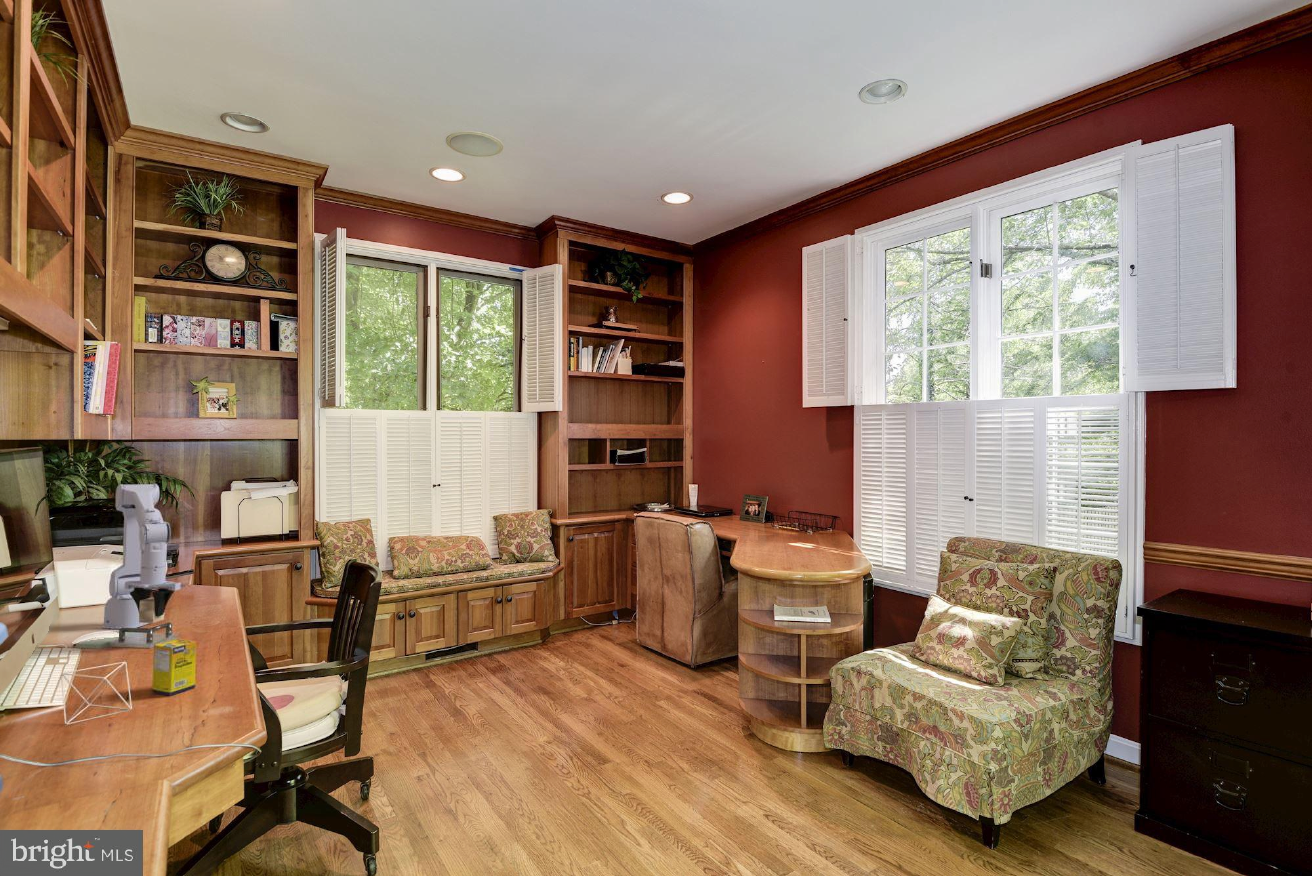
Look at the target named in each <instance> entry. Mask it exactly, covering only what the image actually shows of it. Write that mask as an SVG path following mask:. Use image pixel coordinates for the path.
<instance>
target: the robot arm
mask: <svg viewBox="0 0 1312 876" xmlns="http://www.w3.org/2000/svg"><path fill="white" fill-rule="evenodd" d="M159 499H160V487H159V485H158V484H157V483H152V484H151V483H150V484H149V483H147V484H146V483H143V484H141V483H140V484H122V483H121V484H120V483H119V485H118V486H117V487H116V490H115V509H116V511H119V512H122V514H123V517H124V520H123V544H122V545H123V547H122V549H123V550H122V565H120V566H119V567H117V568H115V569H114V570H113V571H112V572H111V573H110V578H109V579H110V580H109V583H108V584H109V585H108V587H109V588H108V590H109V595H110V598H109V599H107V601H106V603H105V604H104V611H103V613H104V614H103V615H104V616H103V626H101V629H109V628H110V629H111V630H113V629H115V630H116V629H117V630H120V629H121V628H122V627H125V628H141V627H143V626H145V625H149V624H150V623H140V622H139V608H140V601H141V600H144V599H148V598H151V595H152V596H153V597H152V598H154V601H155V616H157V617H158V616H161V615H163V614H164V615H165V610H166V607H167V604H168V602H169V601H170V598H171V597H172V596H173V594H174V592H175V591H176V592H177V591H179V590H181V584H182V583H181V582H177V581H170V580H169V581H168V580H166V577H167V575H166V572H167V553H168V551H167V550H168V544H169V542H170V541H171V526H170V525H171V524H170V523H169V522H167V521H164V519H163V517H162V513H161V511H160V510H159V509H157V508H156V507H155V506H156V504H157V503H158V502H159ZM153 590H155V591H153Z"/></svg>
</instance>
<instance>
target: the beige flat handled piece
mask: <svg viewBox="0 0 1312 876" xmlns="http://www.w3.org/2000/svg"><path fill="white" fill-rule="evenodd" d="M163 629H165V633H161V632H159V633H158V632H157V631H160V630H163ZM172 629H173V624H172V623H171V622H169V621H168V622H165V623H162V624H159V625H156V626H153V627H151V628H150V627H149V628H148V627H145V628H144V627H137V628H125V627H122V628H121V629H118V630H119V639H117V640H114V641H111V642H109V646H108V647H109V648H110V647H111V648H113V647H114V648H133V649H134V648H137V649H139V648H140V649H152V648H153V649H154V645H156V644H160V643H164V642H168V641H172V640H176V639H179V634H178V633H173V632H172V631H173V630H172ZM125 632H137V633H135V634H132V635H129V636H126V637H125Z"/></svg>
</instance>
